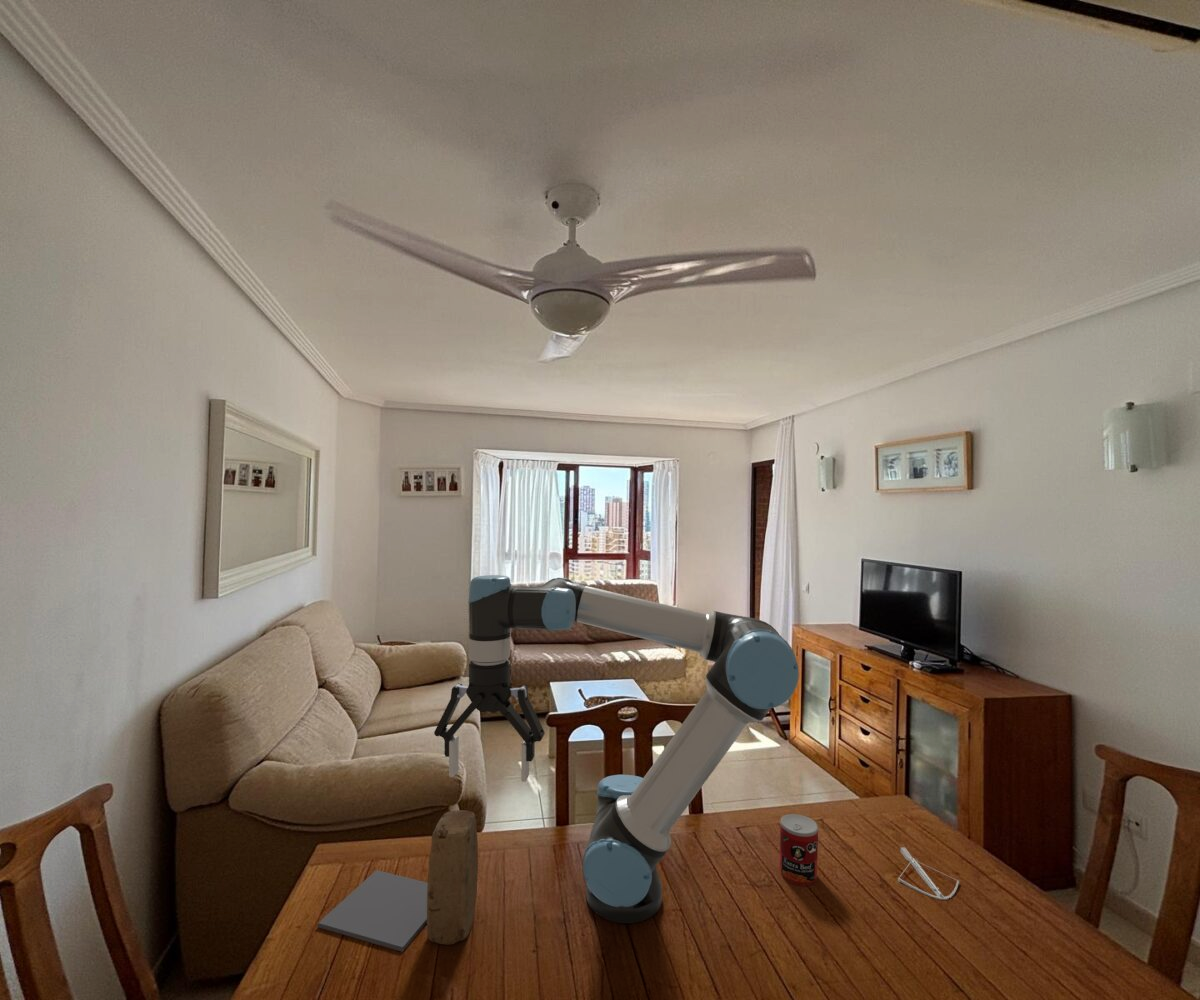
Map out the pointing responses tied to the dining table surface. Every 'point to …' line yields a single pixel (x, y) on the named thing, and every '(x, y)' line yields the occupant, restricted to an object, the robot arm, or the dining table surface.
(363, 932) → the mat
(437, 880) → the block
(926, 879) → the crossbow
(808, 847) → the canned food
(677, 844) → the dining table surface
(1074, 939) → the dining table surface
